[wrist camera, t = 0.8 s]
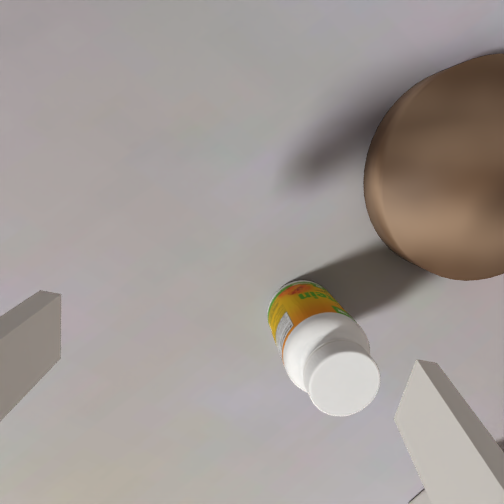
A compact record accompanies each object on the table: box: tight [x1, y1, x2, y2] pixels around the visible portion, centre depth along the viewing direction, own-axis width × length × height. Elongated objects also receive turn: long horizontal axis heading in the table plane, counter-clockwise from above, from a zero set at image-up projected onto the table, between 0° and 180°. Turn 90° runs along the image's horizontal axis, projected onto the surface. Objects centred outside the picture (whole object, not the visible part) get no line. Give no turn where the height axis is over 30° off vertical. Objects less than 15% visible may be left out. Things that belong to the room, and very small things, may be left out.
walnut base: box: [364, 54, 504, 281], centre depth 25 cm, size 15×15×3 cm
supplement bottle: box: [267, 280, 380, 416], centre depth 23 cm, size 5×5×10 cm
